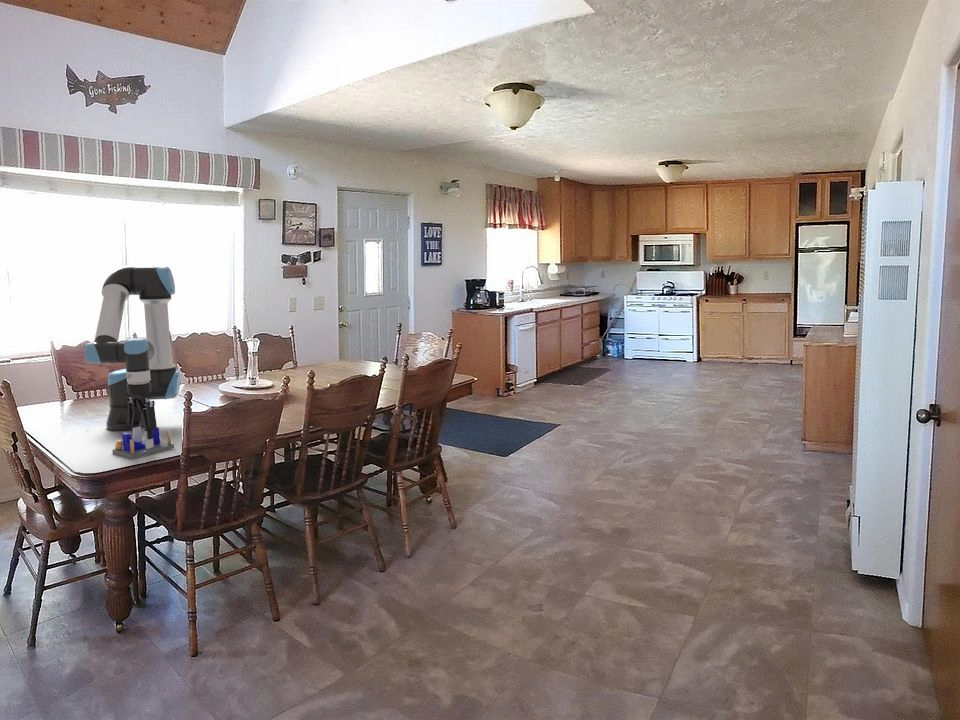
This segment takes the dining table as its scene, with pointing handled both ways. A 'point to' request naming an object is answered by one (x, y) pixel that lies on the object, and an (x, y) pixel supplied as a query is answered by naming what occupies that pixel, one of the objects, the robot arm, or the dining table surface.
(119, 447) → the wire nut
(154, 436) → the blue u-shaped block
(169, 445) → the junction plate
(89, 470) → the dining table surface
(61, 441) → the dining table surface
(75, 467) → the dining table surface
